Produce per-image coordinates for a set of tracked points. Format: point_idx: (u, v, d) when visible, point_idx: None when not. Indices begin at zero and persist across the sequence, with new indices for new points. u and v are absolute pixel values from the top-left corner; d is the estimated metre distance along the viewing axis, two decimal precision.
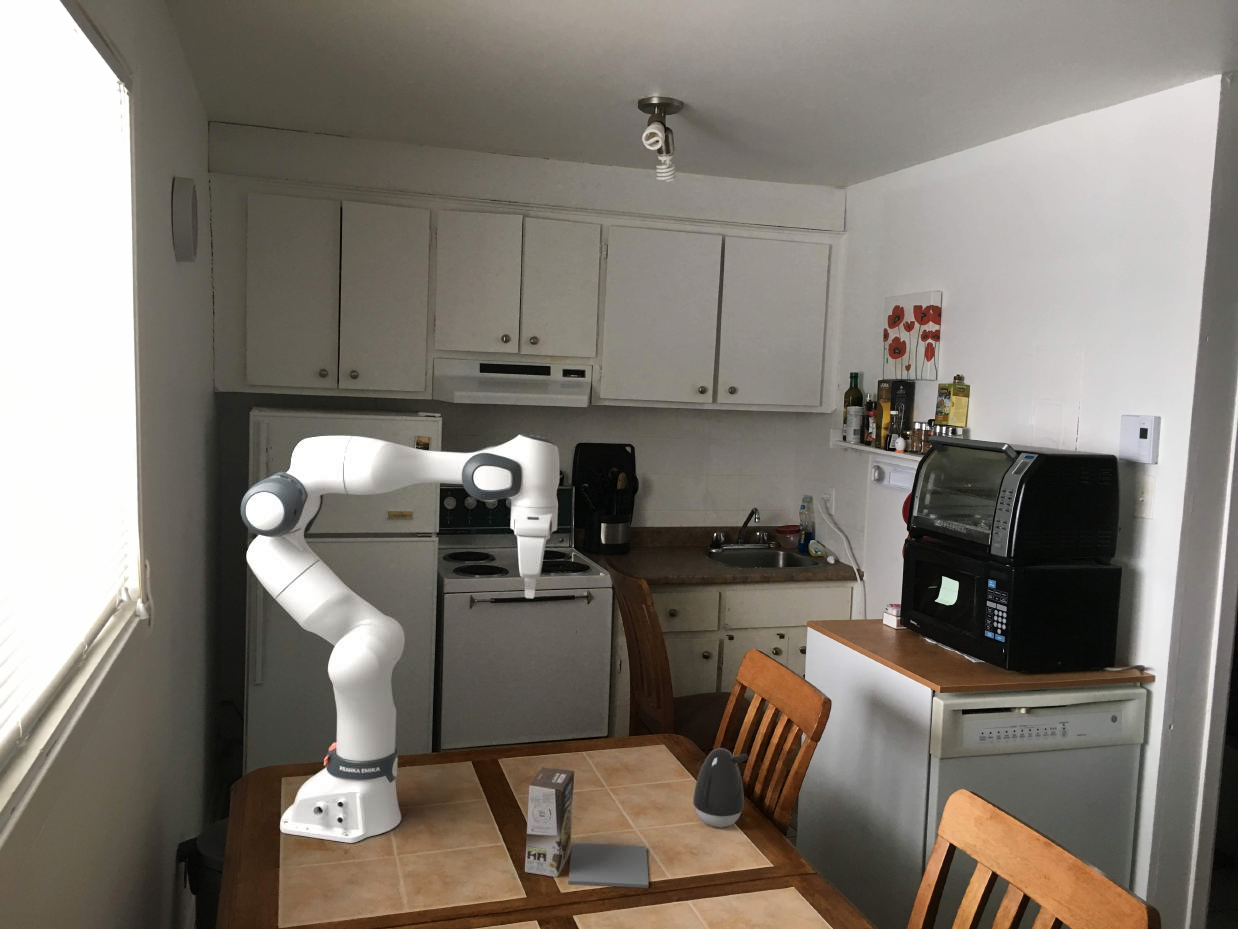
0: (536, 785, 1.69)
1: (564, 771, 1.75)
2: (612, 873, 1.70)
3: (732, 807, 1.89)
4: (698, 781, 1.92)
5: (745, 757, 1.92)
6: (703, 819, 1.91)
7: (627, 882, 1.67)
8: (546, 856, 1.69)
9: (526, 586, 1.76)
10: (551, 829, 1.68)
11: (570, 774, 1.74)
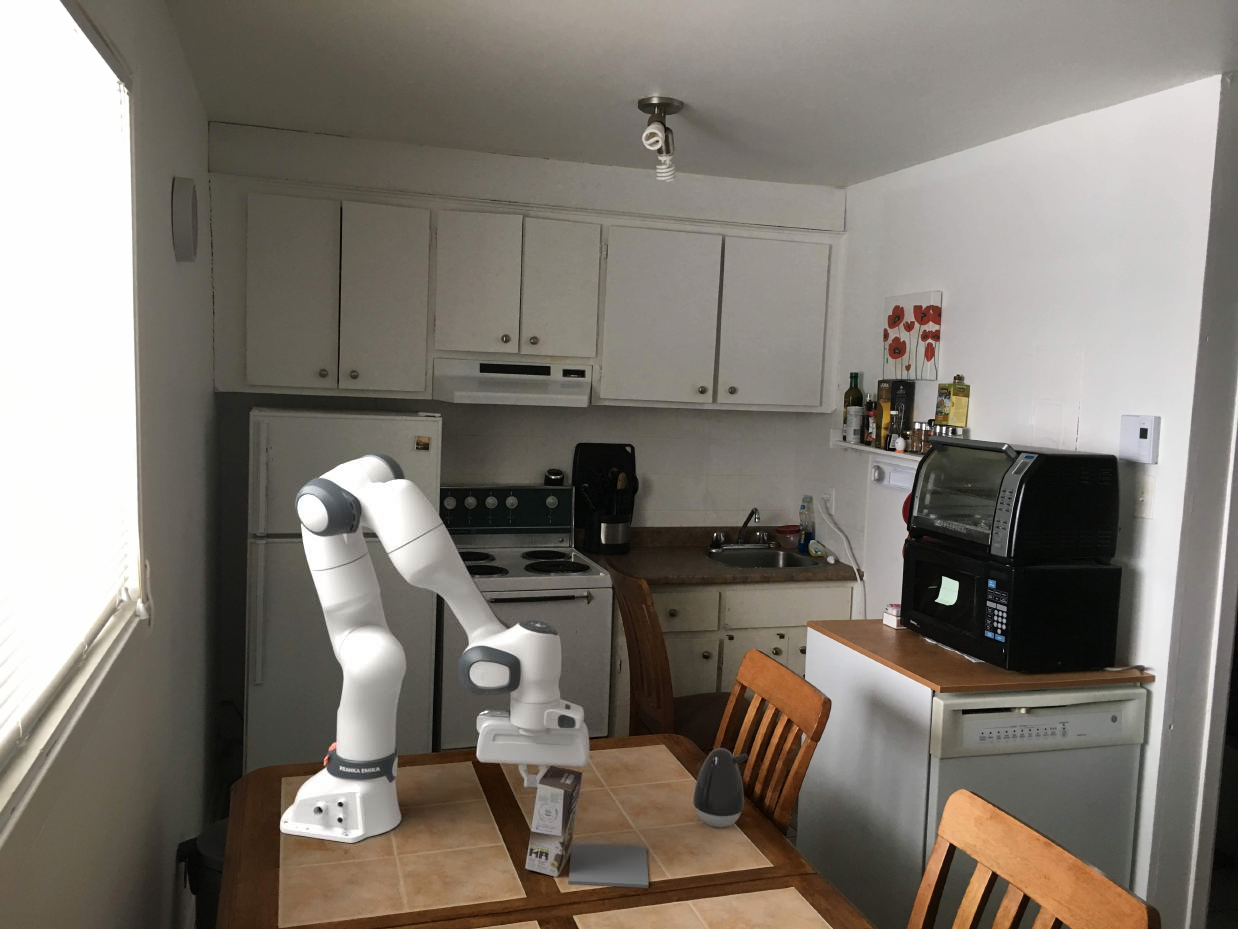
0: (545, 784, 1.69)
1: (572, 772, 1.75)
2: (612, 873, 1.70)
3: (732, 807, 1.89)
4: (698, 781, 1.92)
5: (745, 757, 1.92)
6: (703, 819, 1.91)
7: (627, 882, 1.67)
8: (548, 855, 1.69)
9: None
10: (556, 829, 1.68)
11: (578, 775, 1.74)
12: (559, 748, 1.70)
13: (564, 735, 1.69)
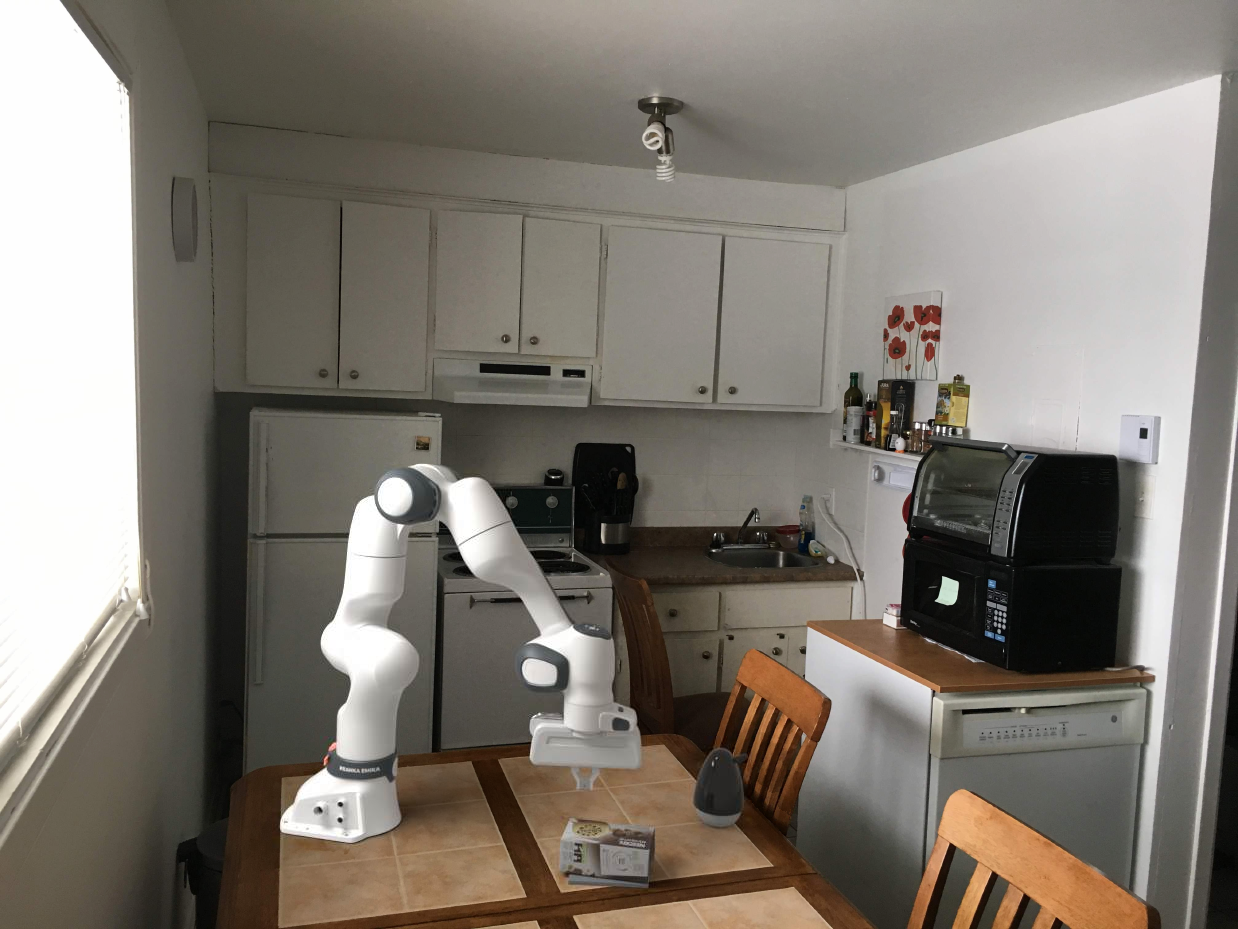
0: (649, 856, 1.67)
1: None
2: None
3: (732, 807, 1.89)
4: (698, 781, 1.92)
5: (745, 757, 1.92)
6: (703, 819, 1.91)
7: (627, 882, 1.67)
8: (578, 862, 1.68)
9: None
10: (606, 869, 1.68)
11: None
12: (613, 751, 1.70)
13: (618, 738, 1.70)
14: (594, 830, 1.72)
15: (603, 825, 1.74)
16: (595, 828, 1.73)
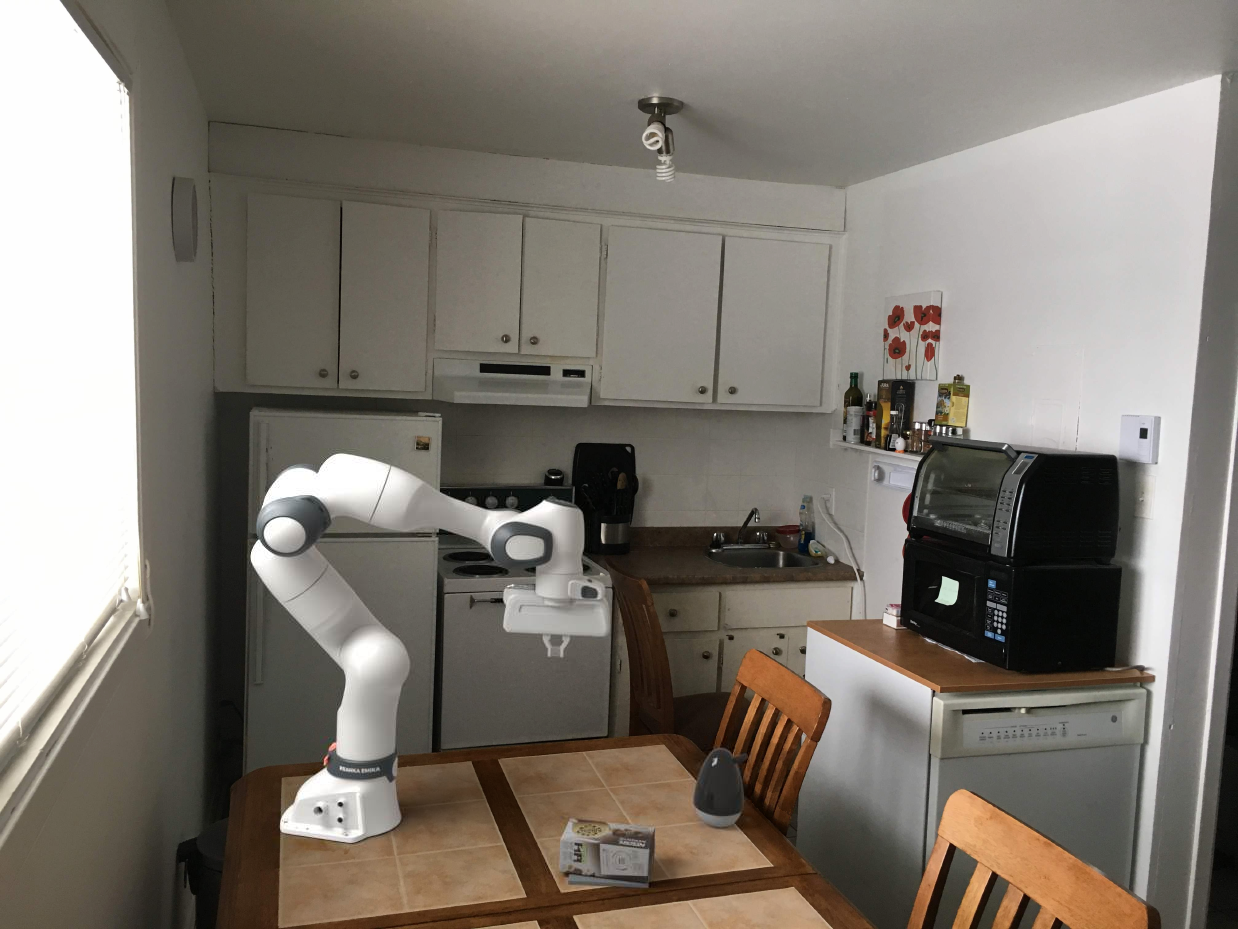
0: (649, 855, 1.67)
1: None
2: None
3: (732, 807, 1.89)
4: (698, 781, 1.92)
5: (745, 757, 1.92)
6: (703, 819, 1.91)
7: (627, 882, 1.67)
8: (578, 862, 1.68)
9: (565, 646, 1.81)
10: (606, 869, 1.68)
11: None
12: (582, 619, 1.79)
13: (587, 606, 1.79)
14: (594, 830, 1.72)
15: (603, 825, 1.74)
16: (595, 828, 1.73)
